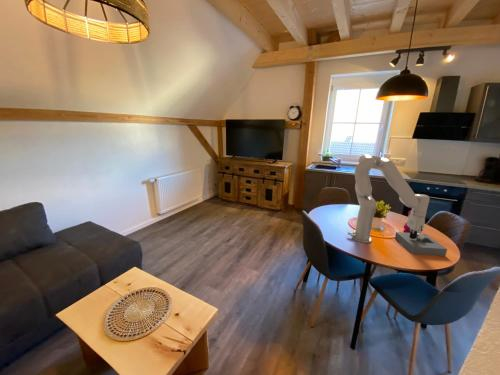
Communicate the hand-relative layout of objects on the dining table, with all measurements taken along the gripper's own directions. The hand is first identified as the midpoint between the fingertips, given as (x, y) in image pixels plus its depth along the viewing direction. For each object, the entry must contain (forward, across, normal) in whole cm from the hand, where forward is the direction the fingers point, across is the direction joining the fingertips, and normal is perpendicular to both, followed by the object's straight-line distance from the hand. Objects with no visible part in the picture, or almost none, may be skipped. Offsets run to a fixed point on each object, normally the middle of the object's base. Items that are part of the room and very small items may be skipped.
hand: (412, 238), depth 146 cm
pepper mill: (+6, -20, +10) cm, 23 cm away
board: (+6, 0, +5) cm, 8 cm away
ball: (-1, 0, +4) cm, 4 cm away
